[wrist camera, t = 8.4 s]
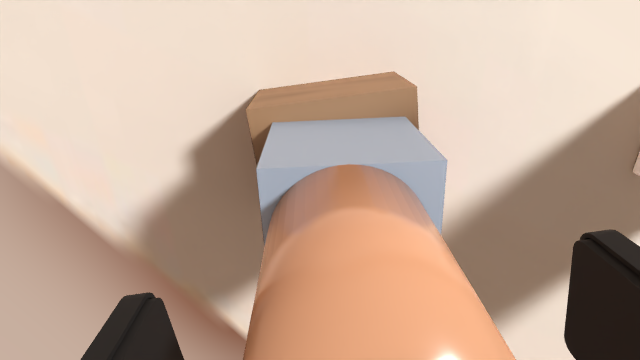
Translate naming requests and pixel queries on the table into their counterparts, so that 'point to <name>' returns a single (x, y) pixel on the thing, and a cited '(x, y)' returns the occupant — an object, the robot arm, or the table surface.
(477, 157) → the table surface
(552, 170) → the table surface
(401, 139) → the slate blue cube
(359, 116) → the walnut base block
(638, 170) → the milk
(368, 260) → the terracotta capsule
